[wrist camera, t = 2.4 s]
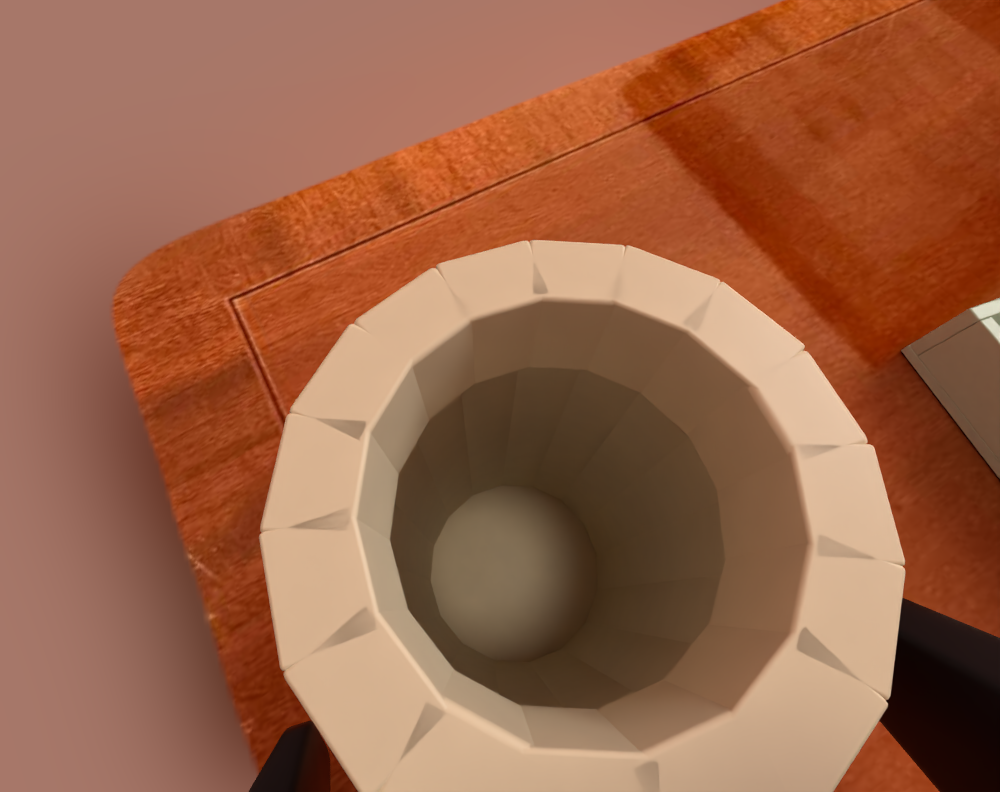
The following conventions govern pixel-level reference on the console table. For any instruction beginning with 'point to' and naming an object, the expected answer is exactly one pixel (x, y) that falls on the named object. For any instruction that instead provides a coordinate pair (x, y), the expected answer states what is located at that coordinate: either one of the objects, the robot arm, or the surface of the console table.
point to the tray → (966, 374)
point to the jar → (580, 538)
